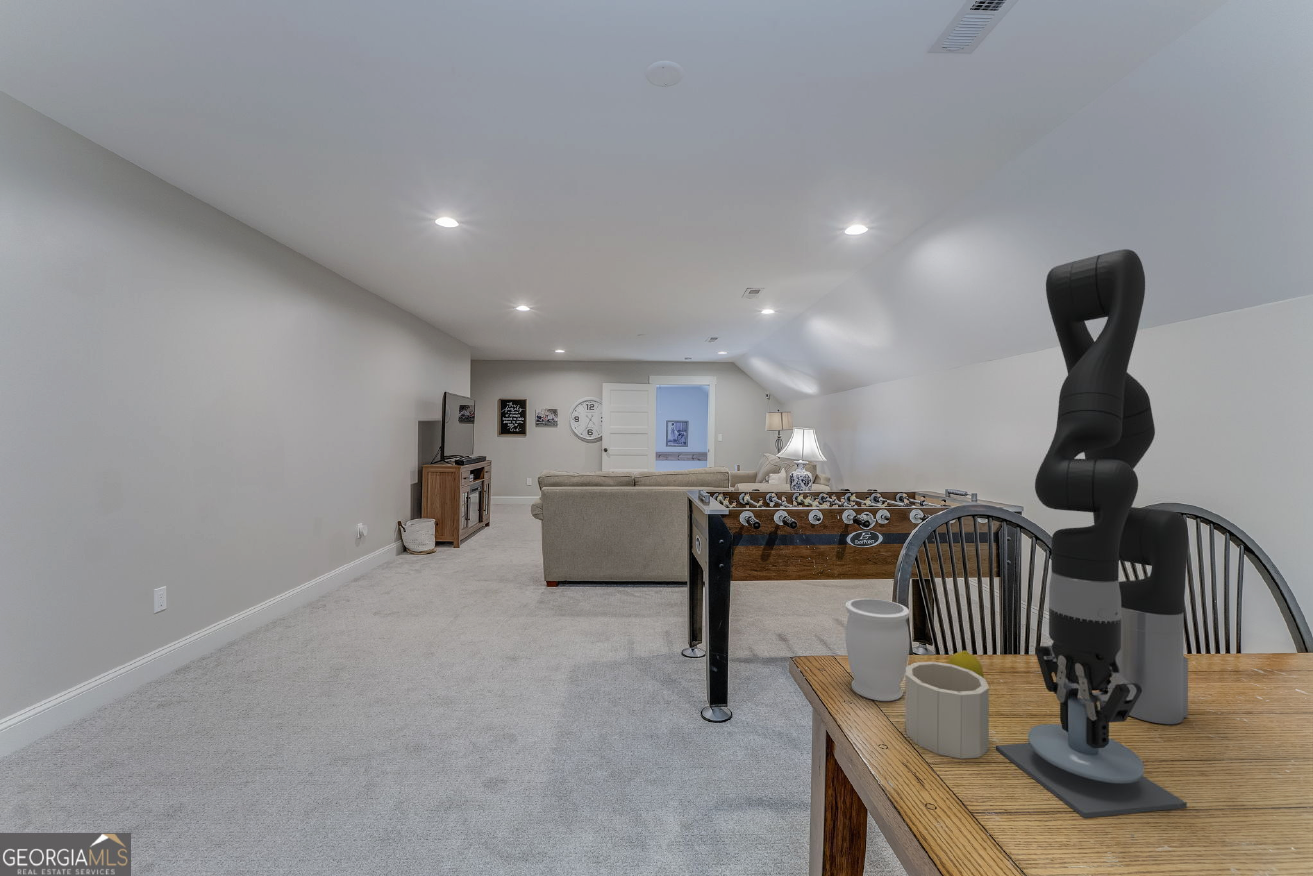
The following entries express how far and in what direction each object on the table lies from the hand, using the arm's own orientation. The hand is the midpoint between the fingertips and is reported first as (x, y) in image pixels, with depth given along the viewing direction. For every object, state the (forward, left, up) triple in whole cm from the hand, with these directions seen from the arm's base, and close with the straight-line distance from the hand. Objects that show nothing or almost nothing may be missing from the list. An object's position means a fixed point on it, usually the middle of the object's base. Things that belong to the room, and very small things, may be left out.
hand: (1083, 737), depth 72 cm
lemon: (+1, -22, -5) cm, 23 cm away
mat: (0, 0, -5) cm, 5 cm away
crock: (+12, -11, -5) cm, 17 cm away
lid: (0, 0, -2) cm, 2 cm away
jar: (+15, -26, -5) cm, 30 cm away
